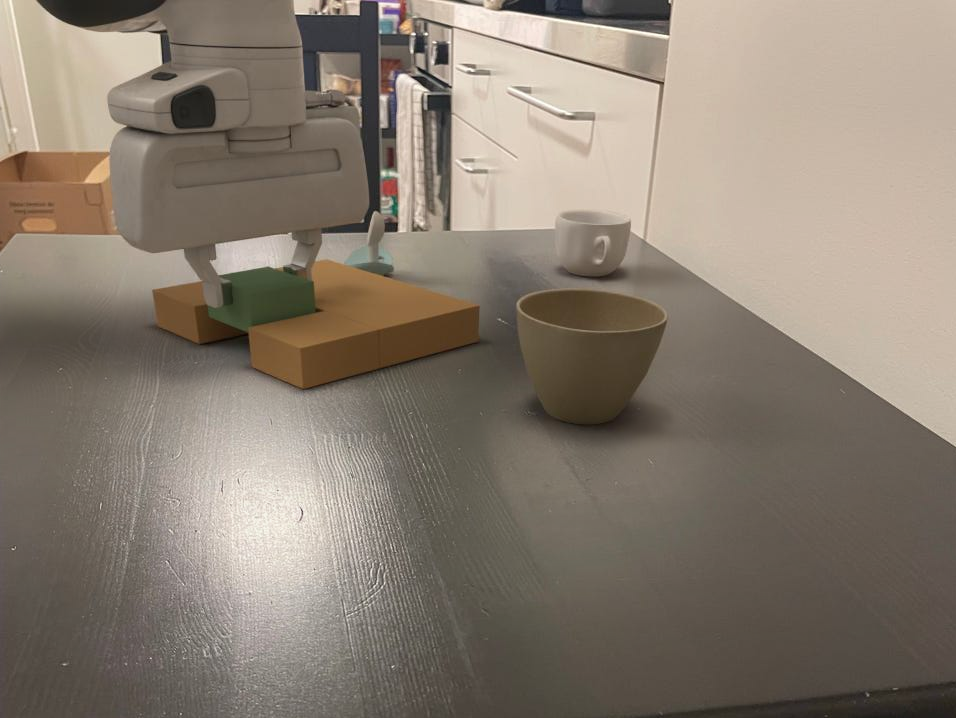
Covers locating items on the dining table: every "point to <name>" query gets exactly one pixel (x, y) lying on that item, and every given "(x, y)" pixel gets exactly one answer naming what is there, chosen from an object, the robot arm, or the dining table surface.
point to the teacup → (591, 241)
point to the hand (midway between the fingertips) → (260, 297)
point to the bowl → (587, 349)
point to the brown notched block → (334, 325)
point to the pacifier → (372, 250)
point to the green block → (265, 298)
